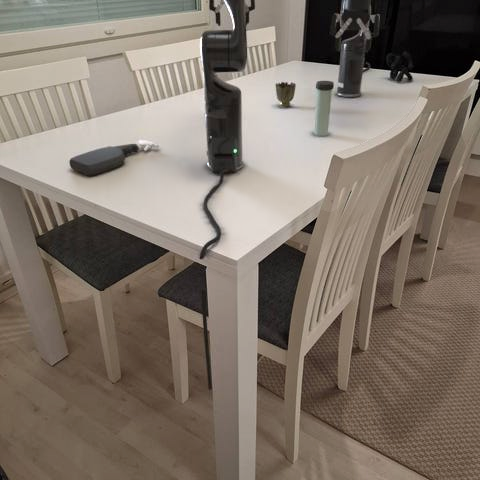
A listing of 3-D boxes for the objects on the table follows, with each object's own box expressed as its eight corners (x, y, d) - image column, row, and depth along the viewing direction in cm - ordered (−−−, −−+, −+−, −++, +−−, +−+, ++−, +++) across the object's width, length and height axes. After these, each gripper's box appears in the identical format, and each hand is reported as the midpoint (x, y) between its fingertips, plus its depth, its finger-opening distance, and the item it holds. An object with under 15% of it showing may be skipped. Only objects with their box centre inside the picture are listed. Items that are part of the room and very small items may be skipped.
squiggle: (400, 92, 202) (376, 71, 205) (417, 76, 202) (392, 56, 205) (405, 81, 191) (380, 59, 194) (423, 64, 191) (397, 42, 194)
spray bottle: (67, 168, 120) (139, 144, 136) (91, 178, 114) (163, 151, 130) (65, 157, 118) (137, 134, 134) (89, 167, 112) (162, 142, 128)
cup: (271, 107, 166) (272, 85, 162) (279, 102, 172) (280, 80, 168) (290, 109, 163) (291, 87, 159) (297, 104, 169) (298, 82, 165)
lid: (334, 86, 135) (334, 81, 134) (332, 90, 131) (332, 85, 130) (317, 85, 136) (317, 80, 135) (314, 89, 132) (315, 84, 131)
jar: (328, 132, 142) (333, 82, 134) (327, 136, 138) (331, 86, 130) (314, 131, 143) (318, 82, 135) (312, 135, 139) (316, 85, 131)
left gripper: (206, -34, 131) (209, 27, 139) (254, -35, 130) (254, 26, 139) (209, -34, 137) (211, 24, 146) (255, -35, 136) (255, 23, 145)
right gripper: (385, -10, 130) (377, 50, 139) (336, -10, 135) (331, 48, 143) (382, -8, 124) (373, 54, 133) (331, -8, 129) (326, 52, 137)
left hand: (232, 25), depth 142 cm, fingers open, 8 cm apart
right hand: (352, 51), depth 138 cm, fingers open, 8 cm apart
